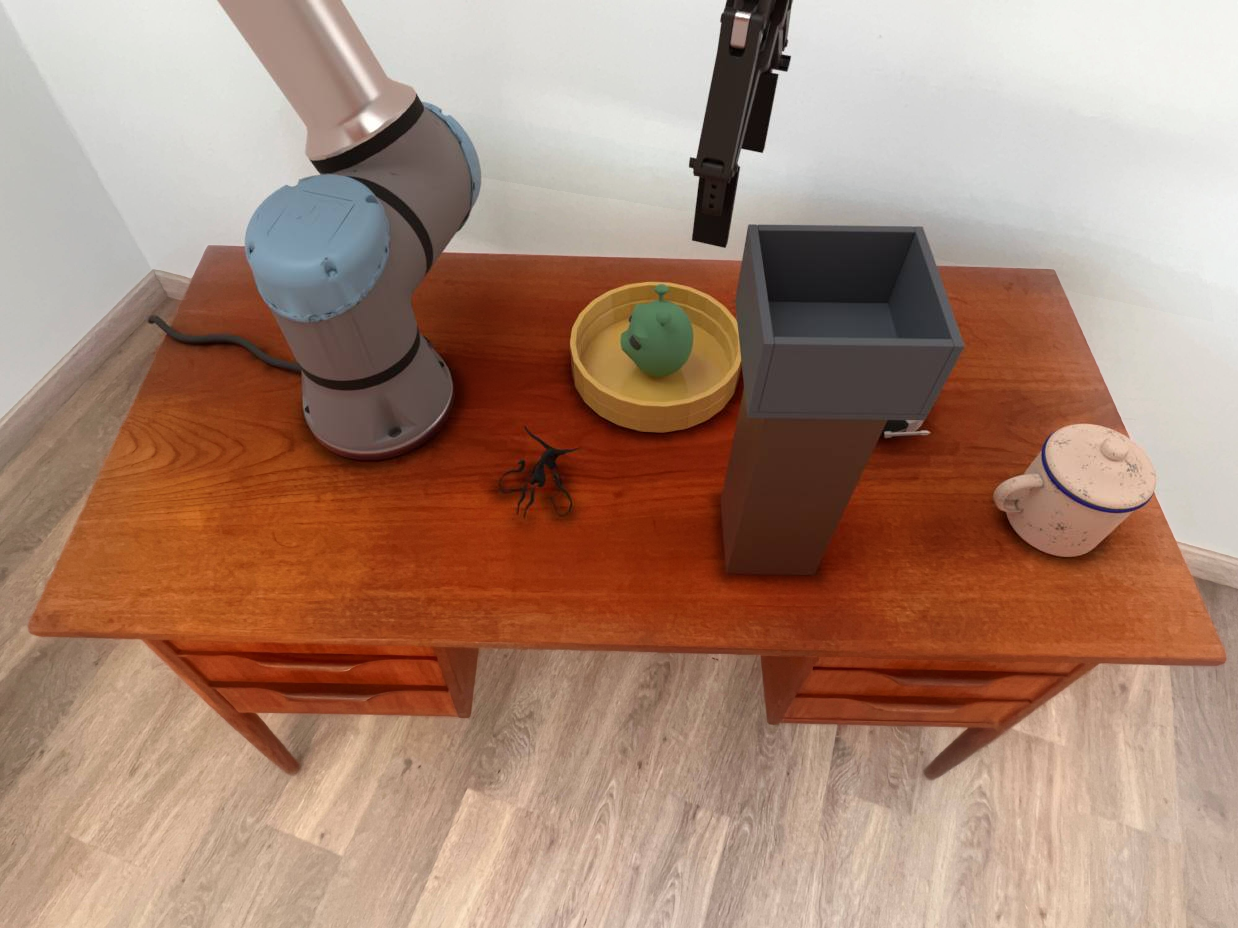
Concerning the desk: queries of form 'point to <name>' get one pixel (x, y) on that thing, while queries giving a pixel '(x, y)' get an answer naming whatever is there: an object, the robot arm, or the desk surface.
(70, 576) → the desk surface
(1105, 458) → the teacup with lid
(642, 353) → the alien toy
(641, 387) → the bowl
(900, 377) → the bin
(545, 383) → the desk surface
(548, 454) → the creature
